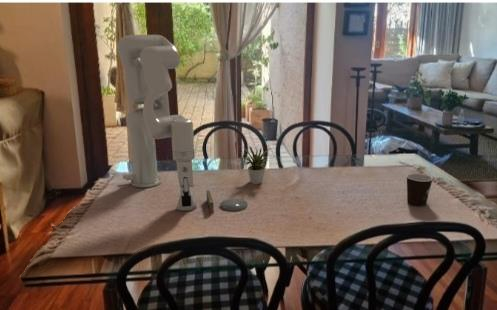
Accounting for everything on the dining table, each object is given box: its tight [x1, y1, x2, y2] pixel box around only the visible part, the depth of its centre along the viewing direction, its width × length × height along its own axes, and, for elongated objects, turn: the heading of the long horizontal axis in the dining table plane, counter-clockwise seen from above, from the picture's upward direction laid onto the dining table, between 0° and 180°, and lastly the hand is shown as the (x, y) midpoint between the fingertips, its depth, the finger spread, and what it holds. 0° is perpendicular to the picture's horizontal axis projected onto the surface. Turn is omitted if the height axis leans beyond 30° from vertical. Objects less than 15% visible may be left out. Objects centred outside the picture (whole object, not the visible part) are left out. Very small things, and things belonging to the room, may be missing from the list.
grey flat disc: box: [219, 198, 248, 212], centre depth 154 cm, size 10×10×1 cm
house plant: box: [240, 144, 272, 185], centre depth 176 cm, size 14×14×16 cm
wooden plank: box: [206, 189, 215, 214], centre depth 153 cm, size 1×12×4 cm, turn 11°
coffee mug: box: [406, 172, 434, 208], centre depth 154 cm, size 12×9×10 cm
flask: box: [176, 180, 197, 212], centre depth 152 cm, size 7×7×10 cm
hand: (186, 202), depth 153 cm, fingers closed on flask, 4 cm apart
